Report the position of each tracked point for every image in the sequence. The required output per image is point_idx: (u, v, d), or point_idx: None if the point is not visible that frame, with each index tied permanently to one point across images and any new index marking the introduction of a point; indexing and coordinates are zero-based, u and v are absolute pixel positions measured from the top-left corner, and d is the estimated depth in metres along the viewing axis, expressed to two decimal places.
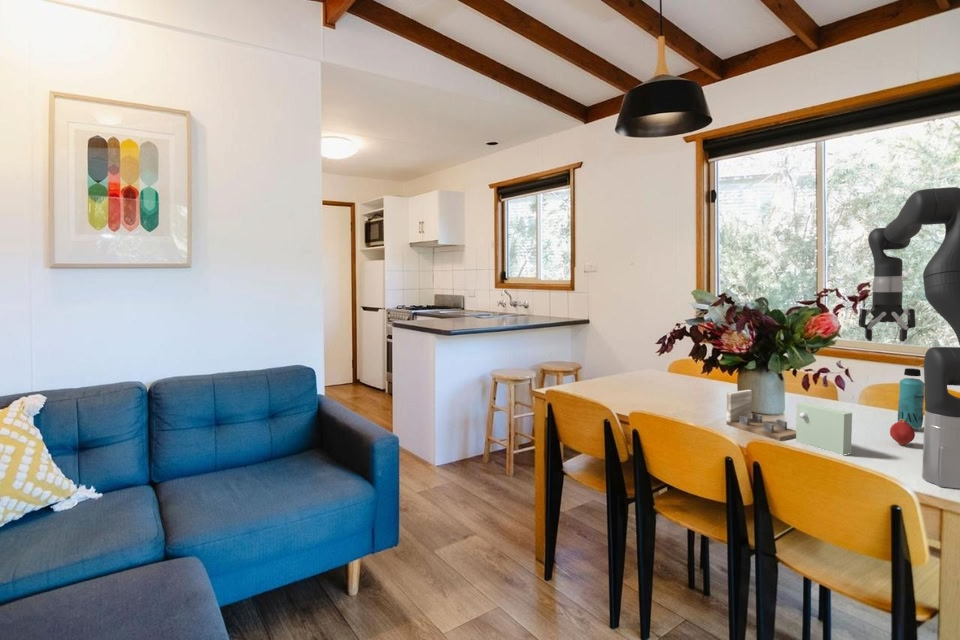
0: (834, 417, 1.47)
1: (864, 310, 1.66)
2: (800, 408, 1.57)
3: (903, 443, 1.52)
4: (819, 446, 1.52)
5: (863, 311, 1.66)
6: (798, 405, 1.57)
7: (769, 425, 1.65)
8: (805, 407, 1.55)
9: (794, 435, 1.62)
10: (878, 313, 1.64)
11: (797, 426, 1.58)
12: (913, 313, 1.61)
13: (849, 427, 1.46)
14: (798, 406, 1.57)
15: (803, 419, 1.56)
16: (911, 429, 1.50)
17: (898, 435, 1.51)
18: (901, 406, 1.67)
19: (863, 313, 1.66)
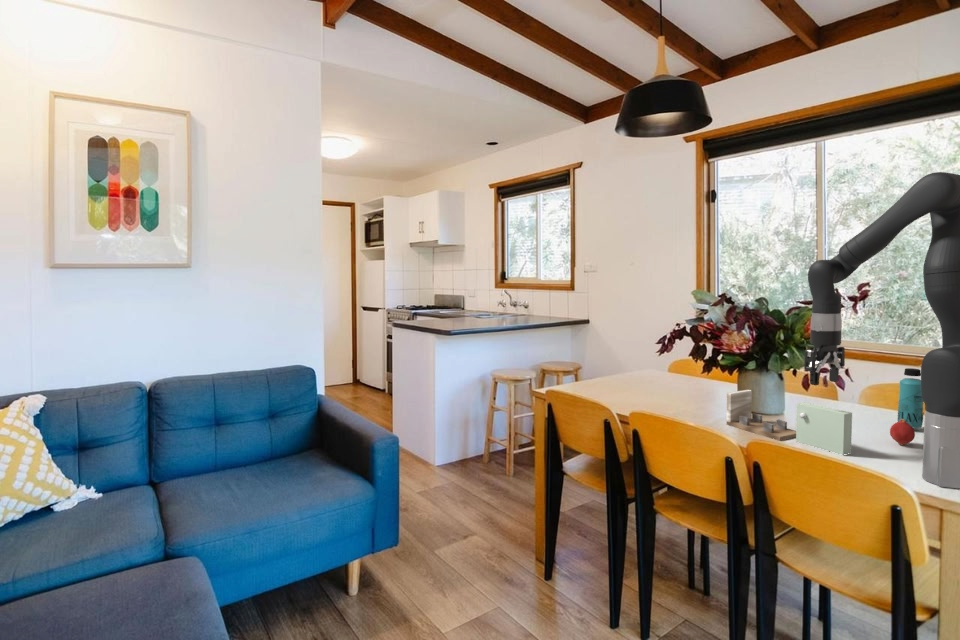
0: (834, 417, 1.47)
1: None
2: (800, 408, 1.57)
3: (903, 443, 1.52)
4: (819, 446, 1.52)
5: None
6: (798, 405, 1.57)
7: (769, 425, 1.65)
8: (805, 407, 1.55)
9: (794, 435, 1.62)
10: None
11: (797, 426, 1.58)
12: None
13: (849, 427, 1.46)
14: (798, 406, 1.57)
15: (803, 419, 1.56)
16: (911, 429, 1.50)
17: (898, 435, 1.51)
18: (901, 406, 1.67)
19: None
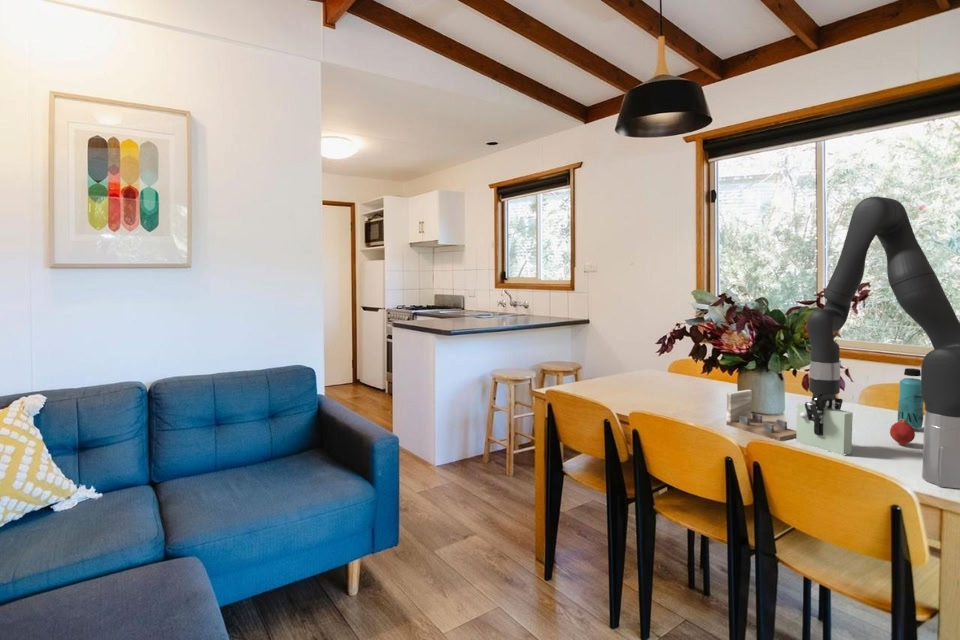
0: (835, 417, 1.47)
1: None
2: (800, 408, 1.57)
3: (903, 443, 1.52)
4: (819, 446, 1.52)
5: None
6: (798, 405, 1.57)
7: (769, 425, 1.65)
8: None
9: (794, 435, 1.62)
10: None
11: (797, 426, 1.58)
12: None
13: (849, 427, 1.46)
14: (798, 406, 1.57)
15: (803, 419, 1.56)
16: (911, 429, 1.50)
17: (898, 435, 1.51)
18: (901, 406, 1.67)
19: None
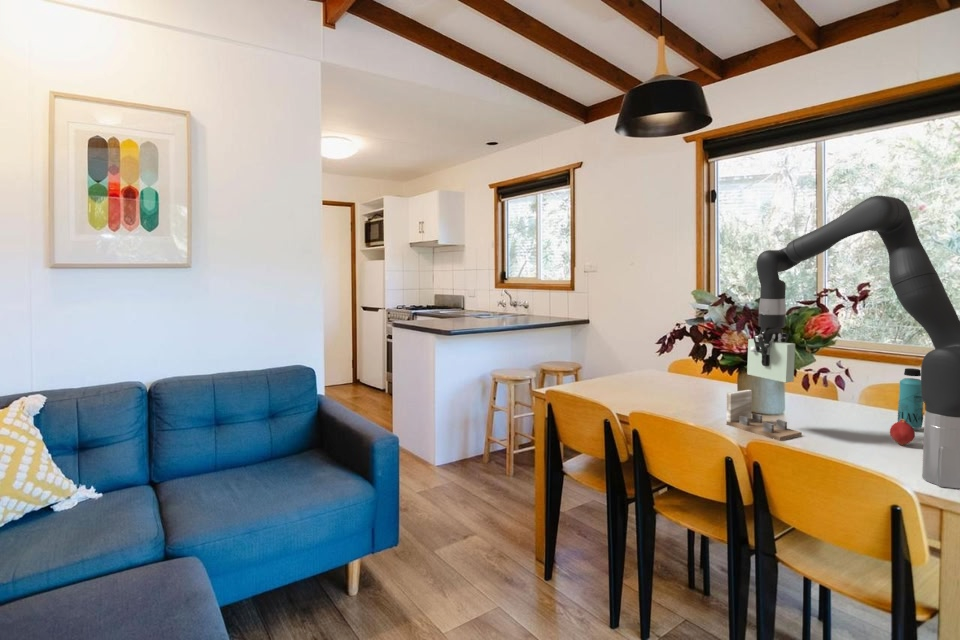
0: (779, 348, 1.62)
1: None
2: (751, 342, 1.71)
3: (903, 443, 1.52)
4: (766, 376, 1.67)
5: None
6: (749, 340, 1.72)
7: (769, 425, 1.65)
8: None
9: (794, 435, 1.62)
10: None
11: (748, 359, 1.73)
12: None
13: (792, 357, 1.61)
14: (749, 341, 1.72)
15: (753, 352, 1.71)
16: (911, 429, 1.50)
17: (898, 435, 1.51)
18: (901, 406, 1.67)
19: None
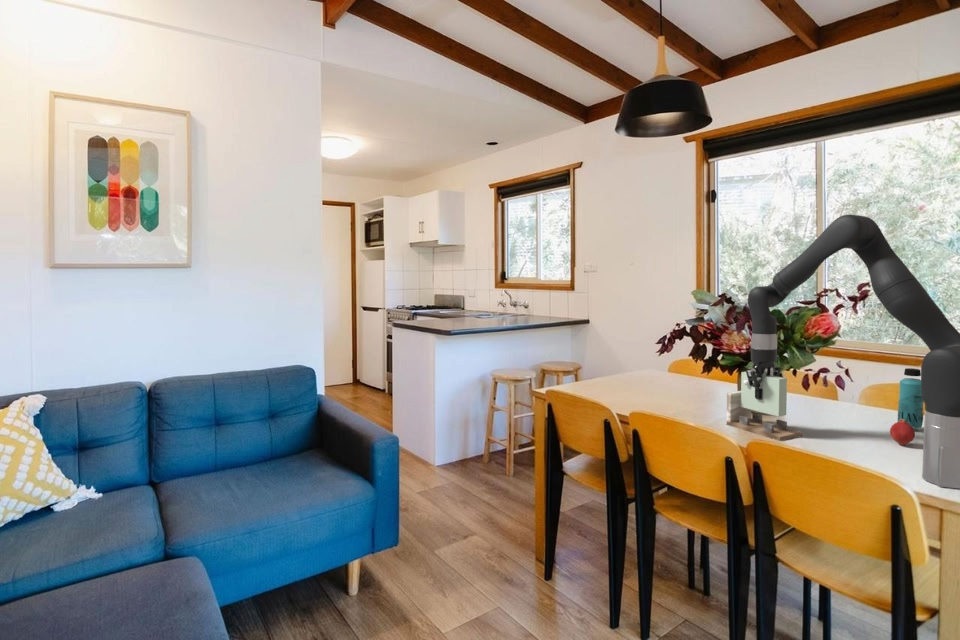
0: (771, 382, 1.65)
1: None
2: (744, 376, 1.74)
3: (903, 443, 1.52)
4: (759, 409, 1.70)
5: None
6: (742, 373, 1.75)
7: (769, 425, 1.65)
8: None
9: (794, 435, 1.62)
10: None
11: (742, 392, 1.76)
12: None
13: (784, 391, 1.64)
14: (742, 374, 1.75)
15: (746, 386, 1.74)
16: (911, 429, 1.50)
17: (898, 435, 1.51)
18: (901, 406, 1.67)
19: None
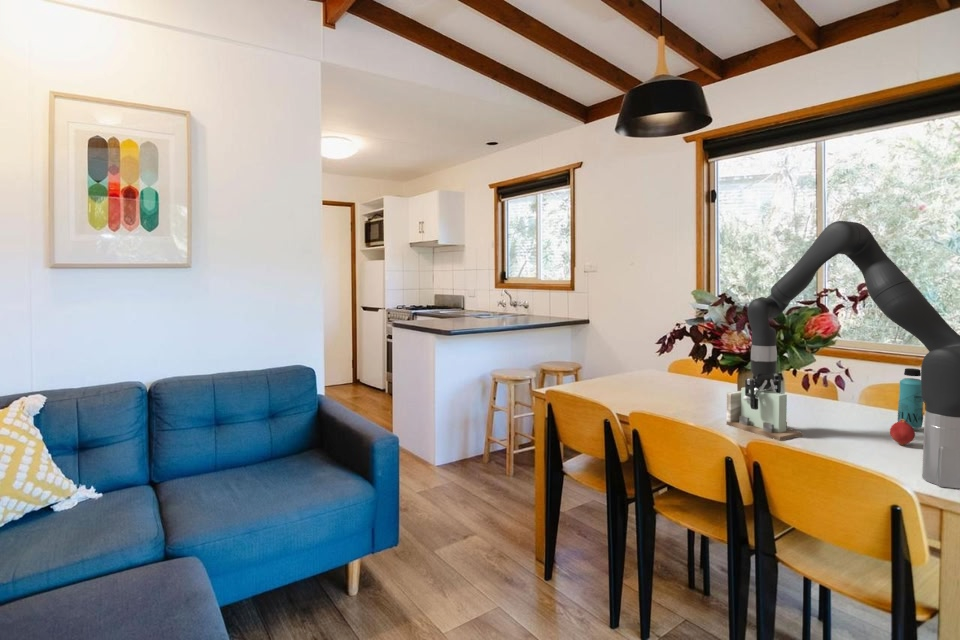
0: (771, 398, 1.65)
1: None
2: (744, 391, 1.75)
3: (903, 443, 1.52)
4: (759, 425, 1.70)
5: None
6: (742, 389, 1.75)
7: (769, 425, 1.65)
8: None
9: (794, 435, 1.62)
10: None
11: (742, 408, 1.76)
12: None
13: (784, 407, 1.64)
14: (742, 390, 1.75)
15: (746, 401, 1.74)
16: (911, 429, 1.50)
17: (898, 435, 1.51)
18: (901, 406, 1.67)
19: None
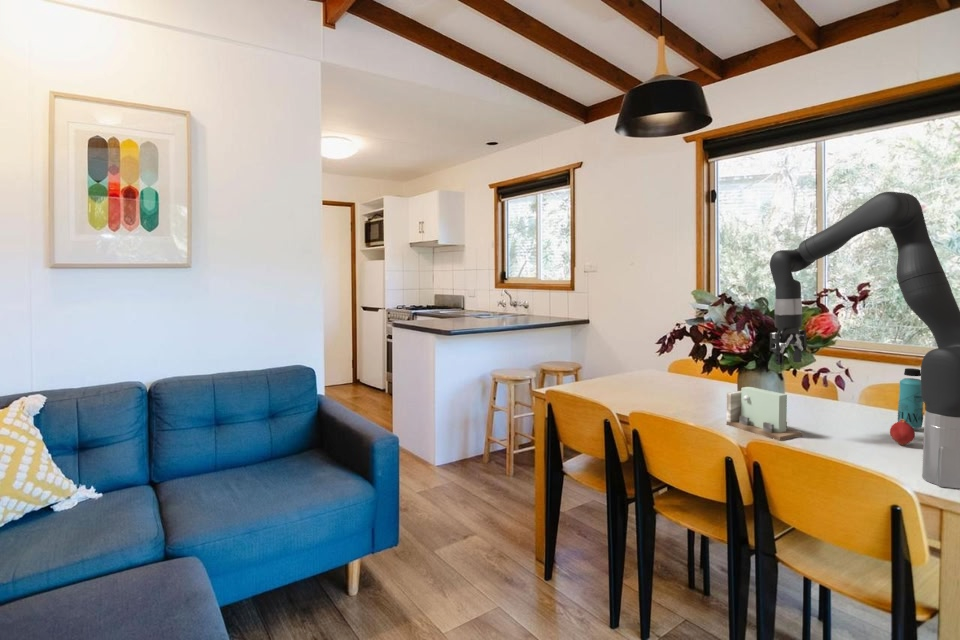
0: (771, 398, 1.65)
1: None
2: (744, 391, 1.75)
3: (903, 443, 1.52)
4: (759, 425, 1.70)
5: None
6: (742, 389, 1.75)
7: (769, 425, 1.65)
8: (748, 390, 1.73)
9: (794, 435, 1.62)
10: None
11: (742, 407, 1.76)
12: None
13: (784, 407, 1.64)
14: (742, 390, 1.75)
15: (747, 401, 1.74)
16: (911, 429, 1.50)
17: (898, 435, 1.51)
18: (901, 406, 1.67)
19: None
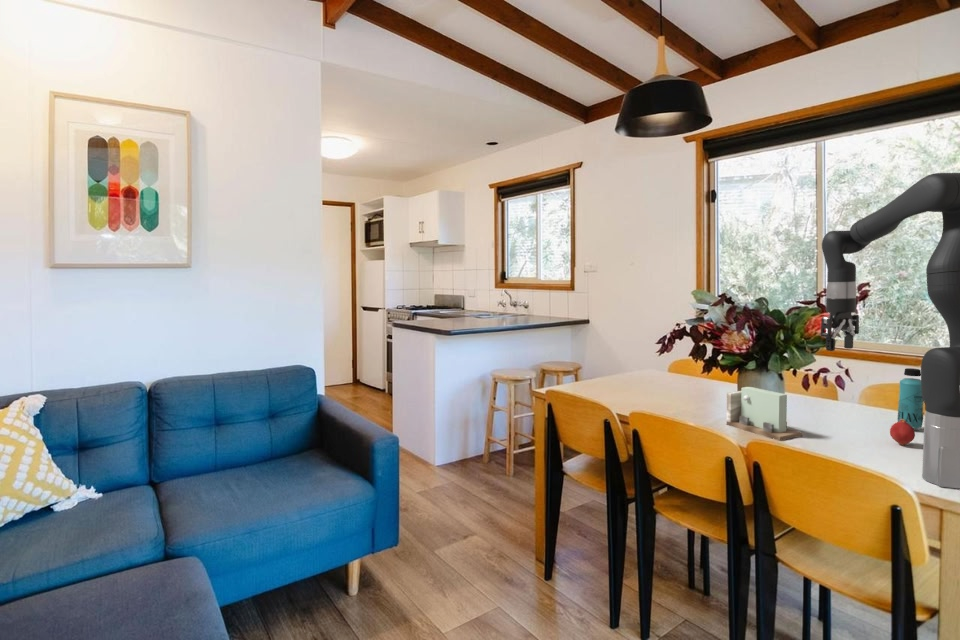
0: (771, 398, 1.65)
1: None
2: (744, 391, 1.75)
3: (903, 443, 1.52)
4: (759, 425, 1.70)
5: None
6: (742, 389, 1.75)
7: (769, 425, 1.65)
8: (748, 390, 1.73)
9: (794, 435, 1.62)
10: None
11: (742, 407, 1.76)
12: None
13: (784, 407, 1.64)
14: (742, 390, 1.75)
15: (747, 401, 1.74)
16: (911, 429, 1.50)
17: (898, 435, 1.51)
18: (901, 406, 1.67)
19: None
